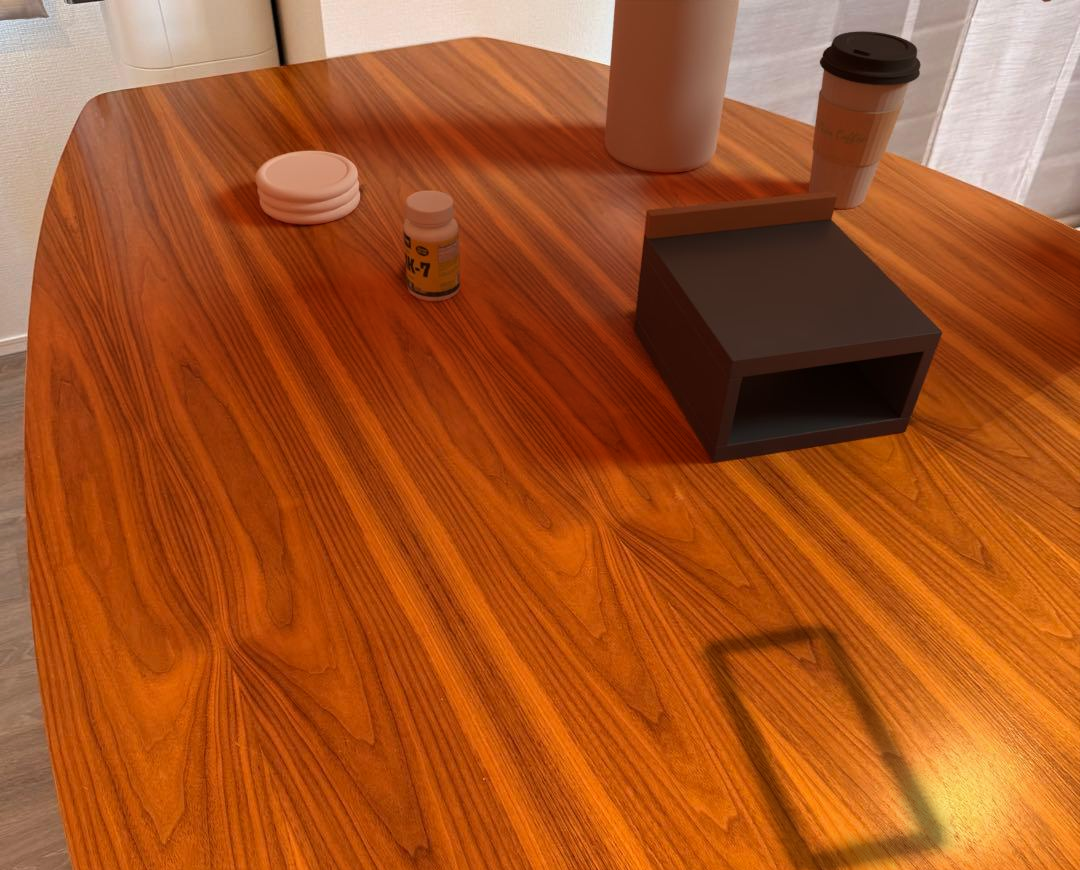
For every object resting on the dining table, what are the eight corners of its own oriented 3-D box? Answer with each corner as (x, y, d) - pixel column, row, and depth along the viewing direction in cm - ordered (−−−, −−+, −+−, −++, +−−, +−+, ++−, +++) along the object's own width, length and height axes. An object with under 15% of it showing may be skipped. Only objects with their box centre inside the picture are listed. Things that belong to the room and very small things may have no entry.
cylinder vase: (629, 120, 116) (651, -131, 98) (729, 142, 112) (771, -114, 94) (586, 160, 108) (602, -106, 90) (692, 185, 104) (731, -87, 86)
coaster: (245, 220, 96) (238, 186, 93) (282, 177, 103) (276, 144, 100) (342, 232, 95) (338, 197, 92) (373, 187, 102) (369, 153, 99)
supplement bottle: (396, 287, 88) (389, 198, 82) (436, 270, 90) (432, 182, 84) (431, 309, 85) (425, 219, 79) (471, 290, 88) (469, 201, 82)
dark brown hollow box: (905, 432, 75) (952, 306, 67) (712, 463, 72) (737, 335, 64) (802, 308, 87) (831, 190, 79) (633, 330, 84) (646, 209, 76)
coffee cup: (789, 209, 100) (822, 56, 90) (794, 171, 107) (826, 24, 96) (882, 222, 99) (928, 67, 88) (882, 182, 106) (924, 34, 95)
